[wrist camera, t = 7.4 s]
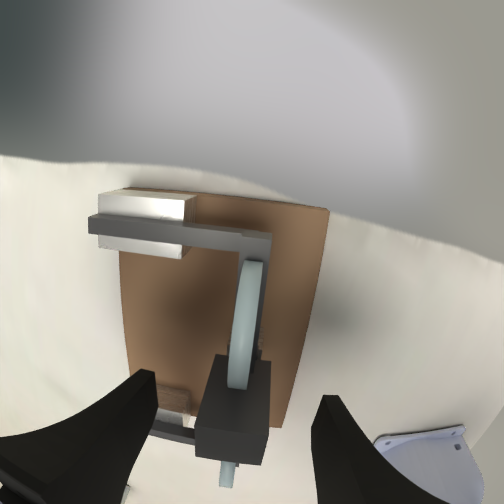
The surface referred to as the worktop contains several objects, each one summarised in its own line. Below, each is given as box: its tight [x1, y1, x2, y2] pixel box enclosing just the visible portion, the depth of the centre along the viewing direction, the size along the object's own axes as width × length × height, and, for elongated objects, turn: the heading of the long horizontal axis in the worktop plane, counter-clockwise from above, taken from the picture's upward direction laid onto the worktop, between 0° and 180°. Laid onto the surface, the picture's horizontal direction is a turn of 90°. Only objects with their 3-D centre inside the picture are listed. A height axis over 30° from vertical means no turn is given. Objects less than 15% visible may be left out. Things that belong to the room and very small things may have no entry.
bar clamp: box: [88, 214, 272, 488], centre depth 11 cm, size 8×13×5 cm, turn 174°
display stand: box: [98, 187, 330, 428], centre depth 15 cm, size 10×14×3 cm
